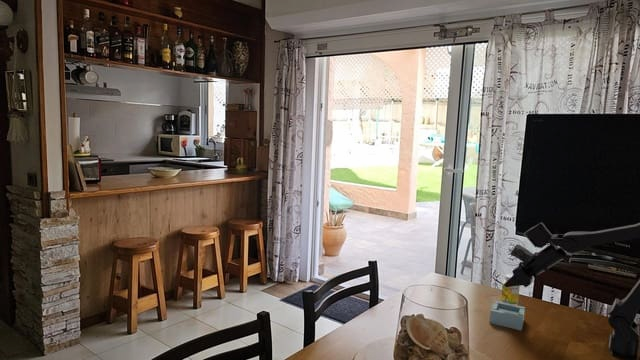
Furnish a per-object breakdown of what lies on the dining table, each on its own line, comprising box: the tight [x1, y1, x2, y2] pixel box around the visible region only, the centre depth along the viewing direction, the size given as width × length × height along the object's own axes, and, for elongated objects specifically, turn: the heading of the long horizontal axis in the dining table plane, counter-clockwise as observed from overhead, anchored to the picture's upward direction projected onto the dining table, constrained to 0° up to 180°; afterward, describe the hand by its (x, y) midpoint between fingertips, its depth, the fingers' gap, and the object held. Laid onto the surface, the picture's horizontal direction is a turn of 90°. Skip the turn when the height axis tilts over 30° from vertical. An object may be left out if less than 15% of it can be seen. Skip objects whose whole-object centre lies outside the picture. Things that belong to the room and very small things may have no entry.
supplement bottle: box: [500, 273, 520, 306], centre depth 148 cm, size 5×5×10 cm
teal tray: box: [489, 300, 526, 331], centre depth 149 cm, size 10×10×4 cm
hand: (506, 283), depth 148 cm, fingers closed on supplement bottle, 5 cm apart
